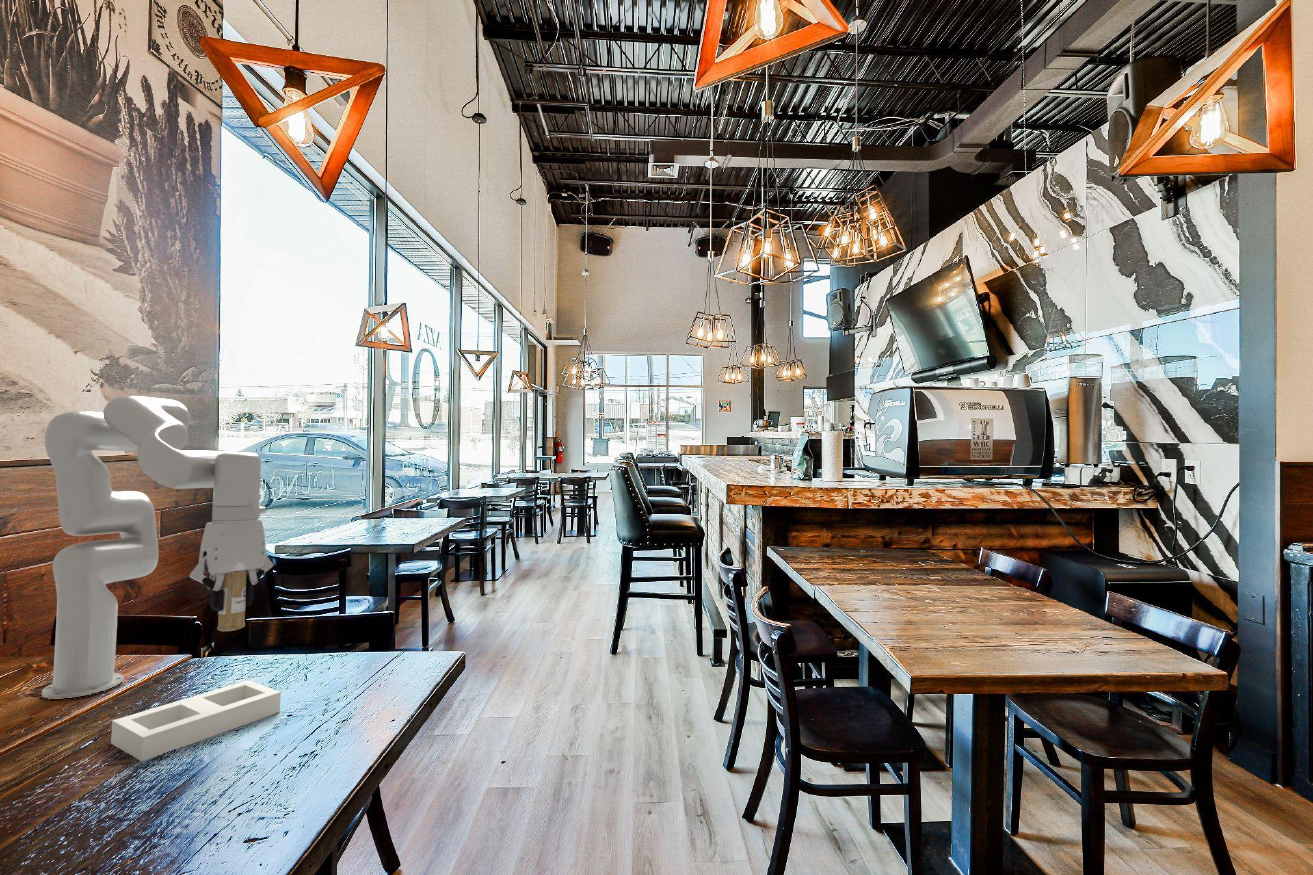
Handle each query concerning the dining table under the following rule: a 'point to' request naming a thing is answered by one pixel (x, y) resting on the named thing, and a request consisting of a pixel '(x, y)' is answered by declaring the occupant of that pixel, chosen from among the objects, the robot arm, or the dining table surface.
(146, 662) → the dining table surface
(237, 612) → the sprinkles bottle
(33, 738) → the dining table surface
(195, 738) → the condiment rack
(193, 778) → the dining table surface
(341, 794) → the dining table surface
